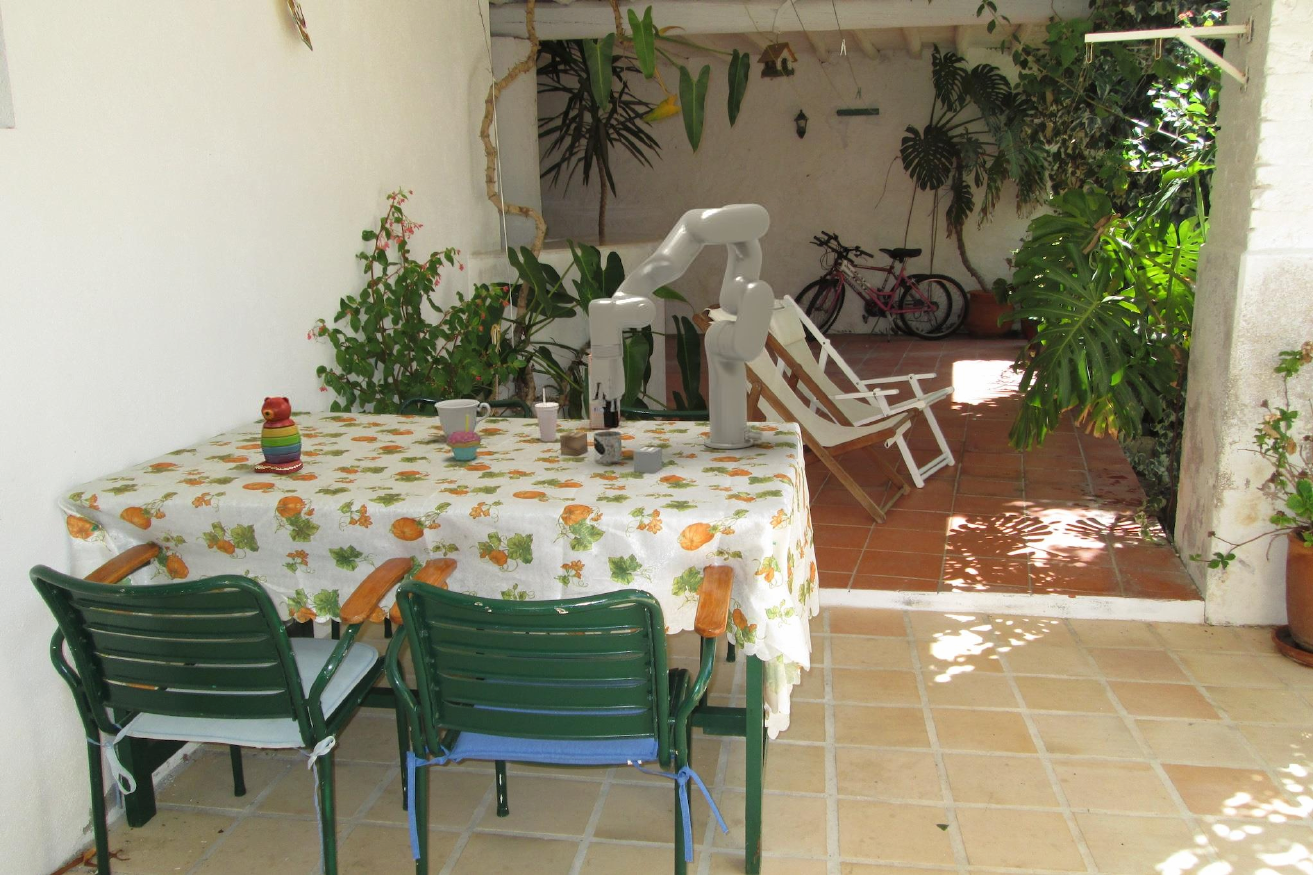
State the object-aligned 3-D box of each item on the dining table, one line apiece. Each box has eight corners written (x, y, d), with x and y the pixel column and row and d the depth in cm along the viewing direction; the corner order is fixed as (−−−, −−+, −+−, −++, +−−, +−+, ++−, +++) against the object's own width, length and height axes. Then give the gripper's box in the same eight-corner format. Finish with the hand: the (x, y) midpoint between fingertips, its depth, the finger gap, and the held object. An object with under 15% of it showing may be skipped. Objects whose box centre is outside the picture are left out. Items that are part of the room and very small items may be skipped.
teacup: (488, 443, 279) (485, 406, 277) (432, 444, 279) (429, 407, 277) (496, 433, 291) (493, 398, 289) (442, 435, 291) (439, 399, 289)
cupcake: (488, 456, 264) (485, 409, 261) (469, 463, 256) (466, 415, 254) (460, 453, 268) (457, 407, 265) (440, 461, 260) (436, 413, 258)
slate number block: (662, 468, 246) (661, 447, 245) (653, 473, 242) (653, 451, 241) (642, 467, 248) (642, 445, 247) (634, 472, 244) (633, 450, 243)
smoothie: (536, 438, 283) (533, 387, 281) (560, 437, 284) (558, 386, 281) (536, 443, 277) (533, 390, 274) (560, 442, 278) (557, 389, 275)
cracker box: (610, 429, 292) (607, 355, 287) (589, 429, 293) (586, 355, 288) (622, 420, 305) (619, 348, 301) (601, 419, 306) (599, 348, 302)
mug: (590, 459, 257) (589, 433, 256) (616, 456, 260) (615, 430, 258) (605, 468, 248) (604, 440, 247) (631, 464, 251) (630, 437, 249)
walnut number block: (587, 452, 266) (586, 432, 265) (578, 456, 261) (577, 436, 260) (570, 450, 268) (569, 431, 267) (561, 455, 263) (560, 435, 262)
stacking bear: (250, 472, 254) (242, 400, 250) (278, 462, 264) (271, 392, 260) (287, 475, 251) (279, 401, 247) (314, 465, 260) (307, 394, 256)
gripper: (606, 346, 257) (610, 420, 261) (578, 356, 243) (583, 433, 247) (634, 347, 254) (638, 421, 258) (607, 356, 240) (612, 434, 244)
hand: (611, 427), depth 252 cm, fingers closed
